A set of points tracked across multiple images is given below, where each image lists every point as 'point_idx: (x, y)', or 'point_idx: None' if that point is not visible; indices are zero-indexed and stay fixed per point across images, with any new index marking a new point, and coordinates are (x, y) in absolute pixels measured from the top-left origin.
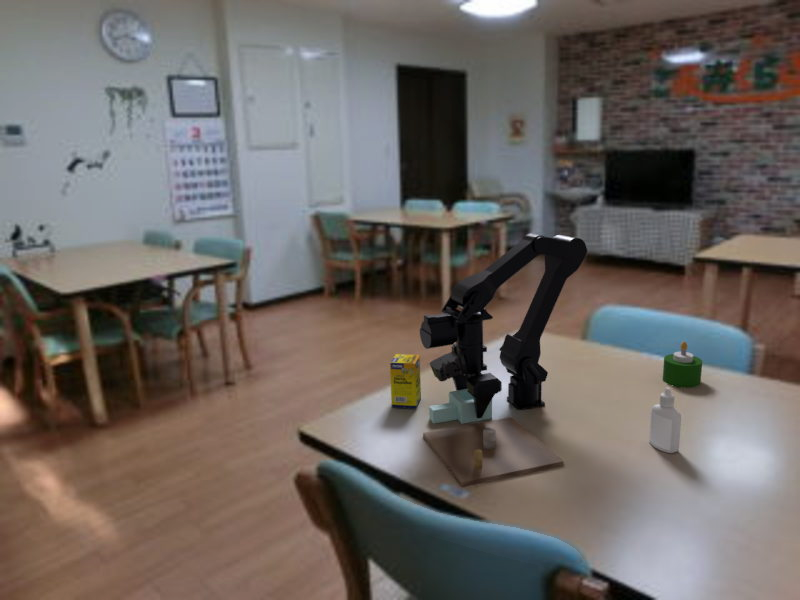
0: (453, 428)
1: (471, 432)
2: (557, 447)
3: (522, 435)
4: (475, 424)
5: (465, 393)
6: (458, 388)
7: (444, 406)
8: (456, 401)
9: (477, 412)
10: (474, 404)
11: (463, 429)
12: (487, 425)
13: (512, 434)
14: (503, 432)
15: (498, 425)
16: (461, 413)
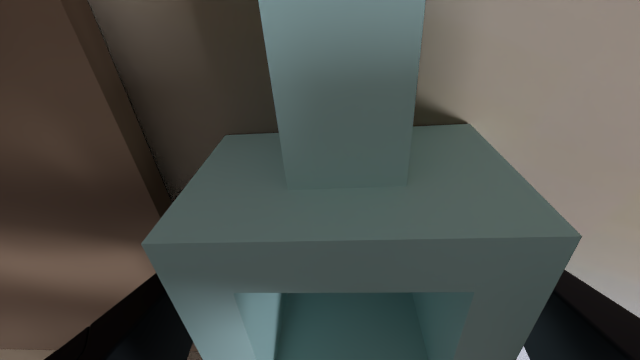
0: (58, 31)
1: (12, 144)
2: (4, 357)
3: (30, 325)
4: (143, 204)
5: (449, 334)
6: (586, 333)
7: (327, 54)
8: (304, 219)
9: (154, 277)
10: (127, 326)
11: (52, 107)
12: (128, 252)
13: (33, 302)
14: (48, 283)
15: (130, 290)
16: (195, 176)
